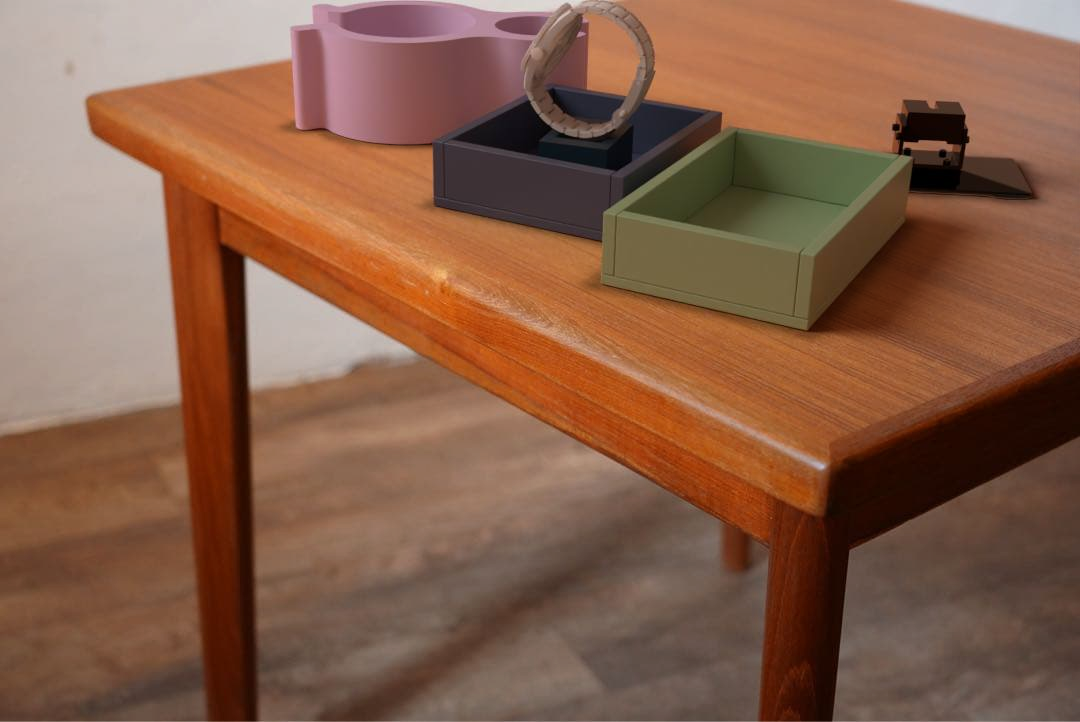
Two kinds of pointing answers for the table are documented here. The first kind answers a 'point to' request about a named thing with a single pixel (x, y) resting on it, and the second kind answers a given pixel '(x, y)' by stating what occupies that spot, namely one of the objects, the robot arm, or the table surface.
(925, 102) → the dark piece
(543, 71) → the watch
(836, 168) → the green bin
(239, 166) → the table surface
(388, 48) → the pink double dish
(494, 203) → the blue bin
